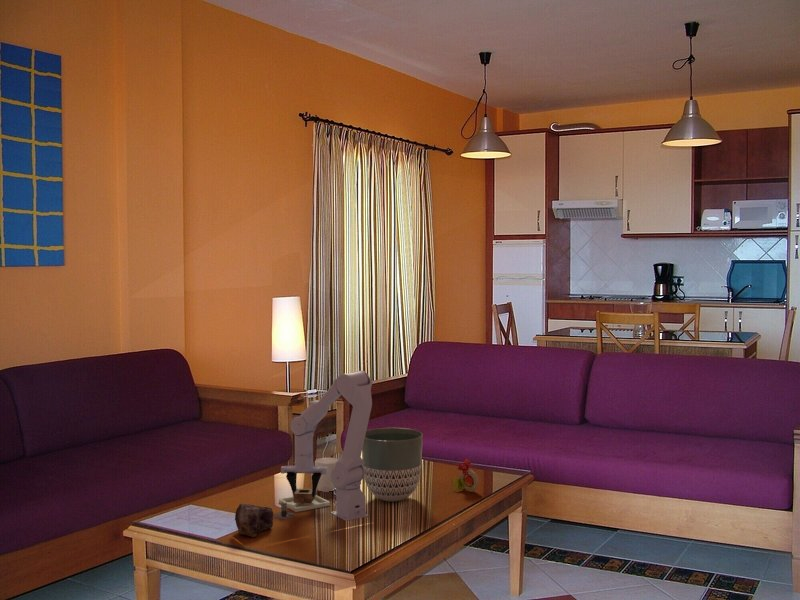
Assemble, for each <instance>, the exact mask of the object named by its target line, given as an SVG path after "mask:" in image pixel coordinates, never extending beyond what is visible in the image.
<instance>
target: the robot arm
mask: <svg viewBox="0 0 800 600" xmlns="http://www.w3.org/2000/svg"><path fill="white" fill-rule="evenodd" d="M372 385H373V381H372V379H371V378H370V376H369V374H368V373H367V371H364V370H358V371H353V372H348V373H342V374H340V375H338V376H337V378H335V379H334V380H333V383H332V384H331V386H330V387H329V388H328V389H327V390H326V392H325V393H324V394H323V395H322V397H321V398H320V399H319V400H318V399H317V400H312V401H310V402H309V403H308V405H309V406H308V407H306V408H305V410H302V411H301V412H300V415H299V416H294V417H293V418H292V420H291V421H290V430H291V432H292V433H293V434H294V465H282V466H281V467H280V474H286V476H285V477H286V480H287V481H288V483H289V486H290V488H291V492H292V497H294V492H295V491H296V490H297V489H298V488H297V477H298V476H297V475H298V474H309V475H310V474H312V475H311V487H312V488H311V489H312V497H315V495H317V494H316V492H317V485H318V482H319V480H320V477H321V475H322V474H327V467H321V466H315V465H314V439H313V438H314V436H315V431H316V430H317V426H318V424H319V422H321V420H322V419H324V417H325V416H326V415H327V414H328V411H329V410H328V408H329V407H330V406H331V405H332V404H333V403H334V402H336V400H338V399H339V398H340V397H341V396H342V397H343V399H345V400H346V401H347V402H348V403H349V404H351V406H352V409H351V414H350V419H349V423H348V427H347V428H348V429H347V433H346V437H345V441H344V447H343V450H342V454H341V456H340V457H339V459H338V461H337V462H336V465H335V468H334V469H333V470H332V472H331V480H332V483H333V484H334V485H335V488H336V491H335V494H336V495H335V496H336V497H335V498H336V499H335V501H336V502H335V506H336V508H335V510H334V511H331V512H330V514H332V515H333V516H335V517H337V518H339V519H341V520H344V521H352V520H358V519H362V518H369V515H368V514H367V512H366V509H367V508H366V506H367V505H366V504H367V503H366V500H367V499H366V495H365V493H364V492H363V491H362V490H361V485H362V481H363V479H365V478H364V475H365V471H364V463H365V462H364V460H363V457H362V448H363V444H364V439H365V435H366V431H368V430H367V429H368V425H369V421H370V416H371V412H372V407H373V399H372V392H371V391H372V390H371V389H372Z"/></svg>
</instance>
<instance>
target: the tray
mask: <svg viewBox="0 0 800 600" xmlns="http://www.w3.org/2000/svg"><path fill="white" fill-rule="evenodd" d="M283 502H286V507H287V508H288V509H290V511H293V512H294V513H299V512H305V511H310V510H314V509H320V508H324V507H329V506H331V502H330V501H329V500H327V499H324V498H323V497H321V496H319V495H317V494H316V495H315V499H314V500H313V502H312V503H304V504H300V503H294V497H293V496H288V497H283V498H279V499H278V503H279V504H281V503H283Z"/></svg>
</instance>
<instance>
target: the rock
mask: <svg viewBox="0 0 800 600" xmlns="http://www.w3.org/2000/svg"><path fill="white" fill-rule="evenodd" d="M234 515H235V517H234V520H235V521H234V522H235V525H236V528H237V531H238V533H239V534H240V535H245V536H246V537H249V536H251V537H250V538H256V537H257V535H258V534H260V533H263V531H266V530H268V529H272V528H273V525H274V517H273V515H274V511H273V508H272V507H267V506H265V507H264V506H258V505H254V504H247V503H239V505H238V507H237V508H236V510H235V514H234Z"/></svg>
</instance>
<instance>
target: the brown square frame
mask: <svg viewBox="0 0 800 600" xmlns="http://www.w3.org/2000/svg"><path fill="white" fill-rule="evenodd" d="M314 499H315V497H312V488H297V490H296V491H295V492H294V503H300V504H304V503H312V502H313V500H314Z"/></svg>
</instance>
